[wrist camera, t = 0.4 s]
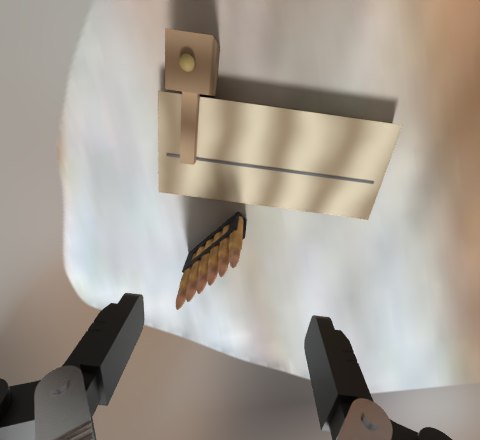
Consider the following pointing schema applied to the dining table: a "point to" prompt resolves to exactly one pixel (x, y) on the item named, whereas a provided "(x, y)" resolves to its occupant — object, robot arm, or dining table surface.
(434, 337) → the dining table surface
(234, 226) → the ammunition clip
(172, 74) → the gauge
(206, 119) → the board
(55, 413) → the robot arm
